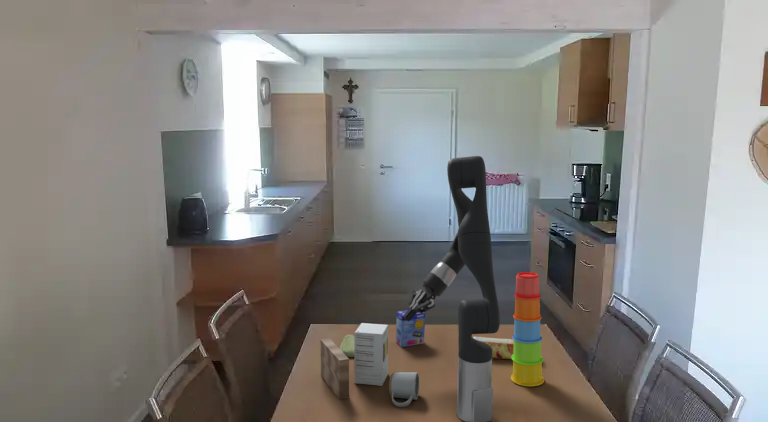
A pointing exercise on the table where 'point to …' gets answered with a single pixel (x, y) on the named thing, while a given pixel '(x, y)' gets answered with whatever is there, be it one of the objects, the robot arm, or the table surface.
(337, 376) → the wooden board
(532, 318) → the stacking cups
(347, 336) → the washcloth
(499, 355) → the snack package
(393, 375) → the ceramic mug
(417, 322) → the ink cartridge box
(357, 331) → the supplement box
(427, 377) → the table surface
